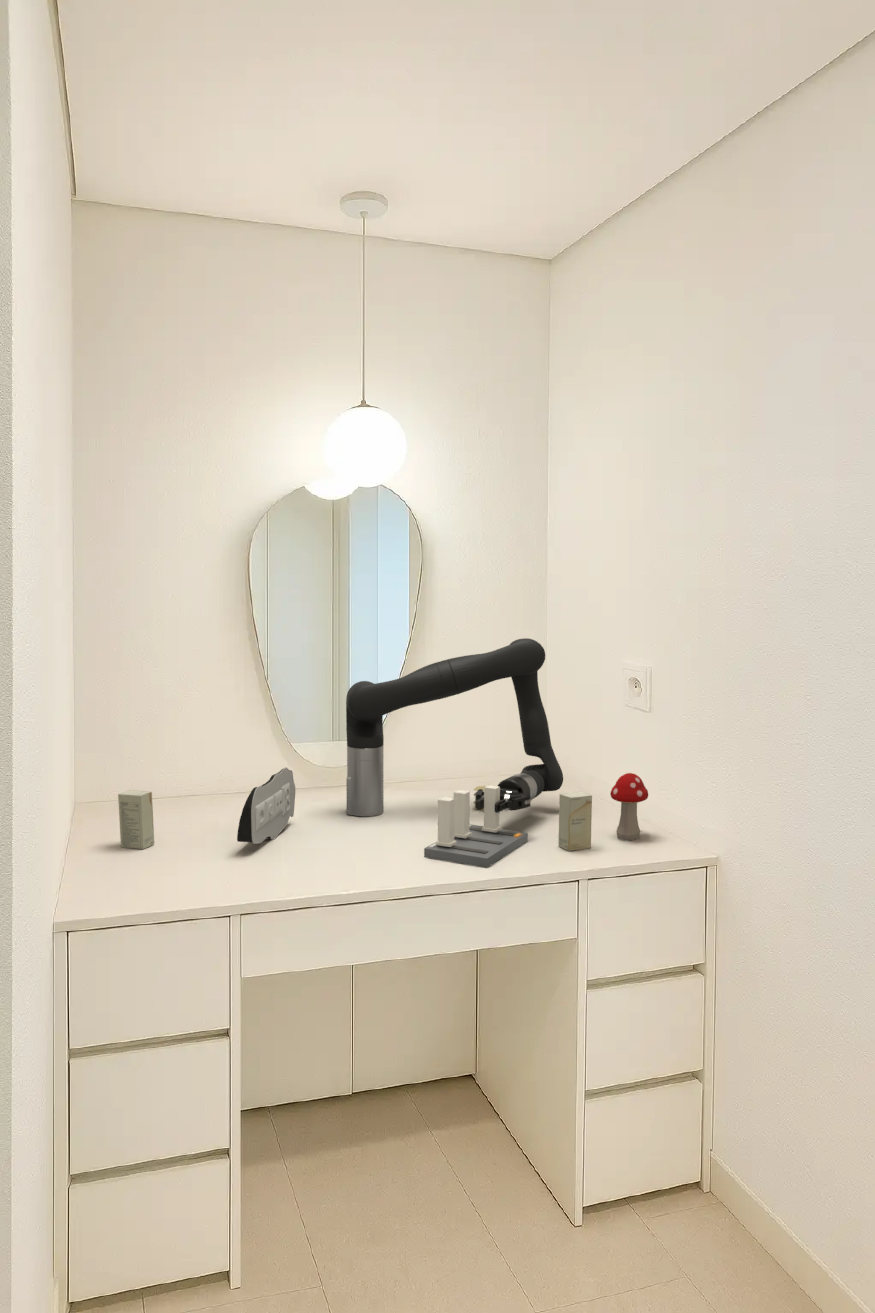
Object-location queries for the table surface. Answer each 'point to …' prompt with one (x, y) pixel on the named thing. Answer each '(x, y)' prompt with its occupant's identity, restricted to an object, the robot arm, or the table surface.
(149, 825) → the skincare box
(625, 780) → the decorative mushroom
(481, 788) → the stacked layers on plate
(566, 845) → the skincare box
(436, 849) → the board
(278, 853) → the table surface
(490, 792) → the post
